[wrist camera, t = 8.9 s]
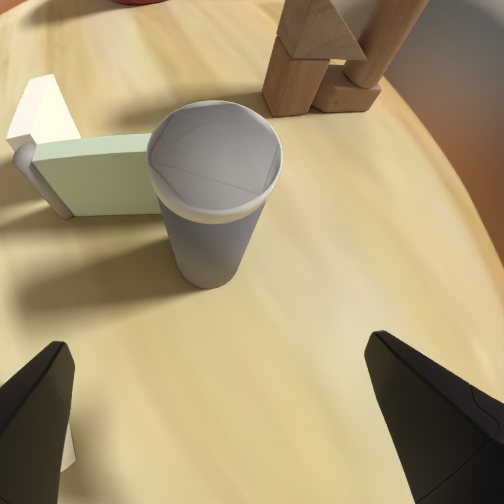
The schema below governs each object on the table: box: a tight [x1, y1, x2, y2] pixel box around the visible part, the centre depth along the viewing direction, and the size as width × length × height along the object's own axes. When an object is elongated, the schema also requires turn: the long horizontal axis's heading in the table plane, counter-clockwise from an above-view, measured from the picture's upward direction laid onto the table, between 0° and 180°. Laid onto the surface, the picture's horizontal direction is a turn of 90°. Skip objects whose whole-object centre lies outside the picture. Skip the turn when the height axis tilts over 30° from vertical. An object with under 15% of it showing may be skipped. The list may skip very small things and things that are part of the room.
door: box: [13, 133, 162, 219], centre depth 19 cm, size 14×3×8 cm, turn 93°
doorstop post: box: [146, 100, 283, 289], centre depth 16 cm, size 4×4×13 cm
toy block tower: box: [262, 0, 429, 117], centre depth 20 cm, size 4×11×18 cm, turn 107°
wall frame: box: [0, 74, 81, 473], centre depth 16 cm, size 26×2×8 cm, turn 5°
